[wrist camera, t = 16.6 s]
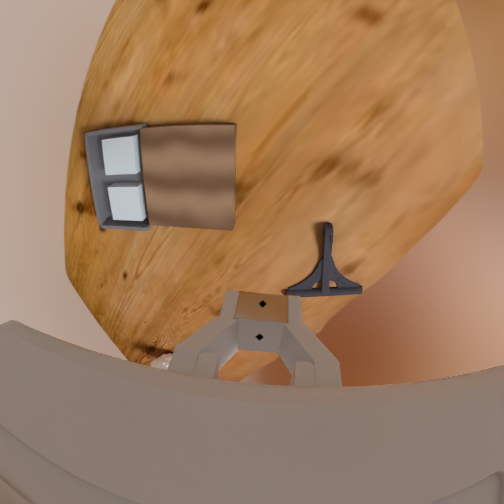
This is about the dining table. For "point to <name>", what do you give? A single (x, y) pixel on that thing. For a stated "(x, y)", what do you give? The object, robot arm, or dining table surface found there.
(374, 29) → the dining table surface
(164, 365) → the bust
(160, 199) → the board
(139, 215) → the tile
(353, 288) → the bracket
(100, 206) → the tray
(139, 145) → the tile
